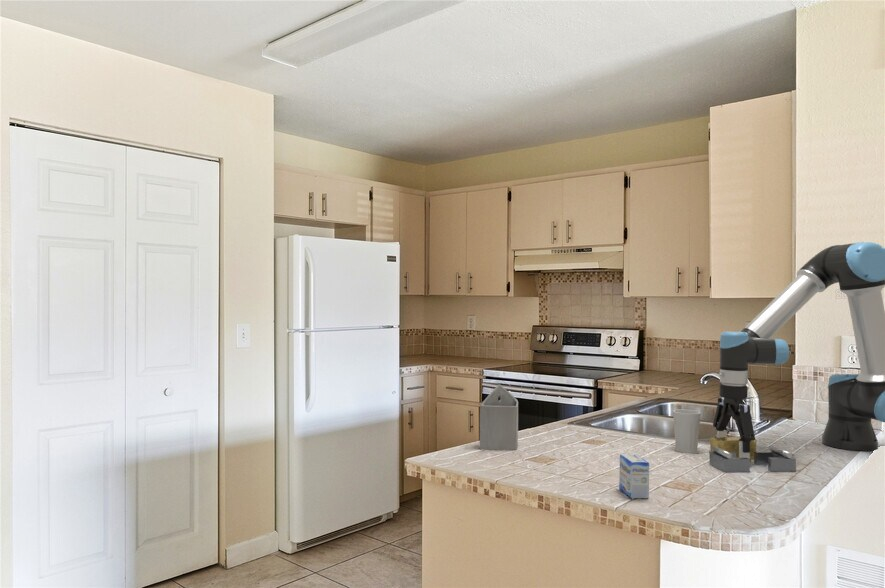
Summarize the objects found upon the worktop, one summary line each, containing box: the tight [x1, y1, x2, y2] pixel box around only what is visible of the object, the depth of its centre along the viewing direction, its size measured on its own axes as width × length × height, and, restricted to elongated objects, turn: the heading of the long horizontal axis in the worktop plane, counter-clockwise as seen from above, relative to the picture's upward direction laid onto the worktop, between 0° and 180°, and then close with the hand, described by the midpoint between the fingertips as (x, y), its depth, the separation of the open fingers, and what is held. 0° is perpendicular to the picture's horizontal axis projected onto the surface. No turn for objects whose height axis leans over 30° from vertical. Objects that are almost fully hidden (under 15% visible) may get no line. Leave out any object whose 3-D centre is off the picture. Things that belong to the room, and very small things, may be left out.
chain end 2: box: [753, 445, 797, 473], centre depth 176 cm, size 7×8×5 cm
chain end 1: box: [708, 446, 751, 473], centre depth 175 cm, size 7×8×5 cm
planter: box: [479, 384, 519, 451], centre depth 197 cm, size 16×8×19 cm, turn 129°
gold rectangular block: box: [709, 436, 757, 461], centre depth 186 cm, size 12×4×6 cm, turn 98°
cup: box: [672, 408, 701, 454], centre depth 195 cm, size 8×8×12 cm
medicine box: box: [618, 453, 650, 499], centre depth 151 cm, size 8×4×9 cm, turn 5°
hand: (732, 458), depth 185 cm, fingers open, 12 cm apart
